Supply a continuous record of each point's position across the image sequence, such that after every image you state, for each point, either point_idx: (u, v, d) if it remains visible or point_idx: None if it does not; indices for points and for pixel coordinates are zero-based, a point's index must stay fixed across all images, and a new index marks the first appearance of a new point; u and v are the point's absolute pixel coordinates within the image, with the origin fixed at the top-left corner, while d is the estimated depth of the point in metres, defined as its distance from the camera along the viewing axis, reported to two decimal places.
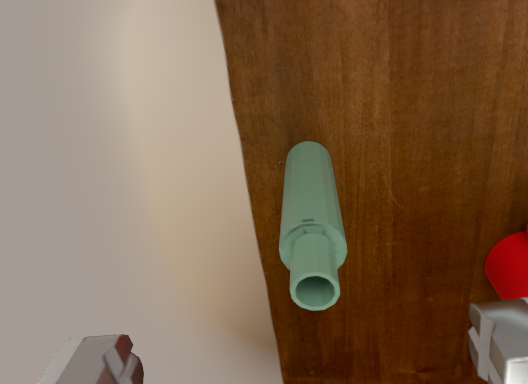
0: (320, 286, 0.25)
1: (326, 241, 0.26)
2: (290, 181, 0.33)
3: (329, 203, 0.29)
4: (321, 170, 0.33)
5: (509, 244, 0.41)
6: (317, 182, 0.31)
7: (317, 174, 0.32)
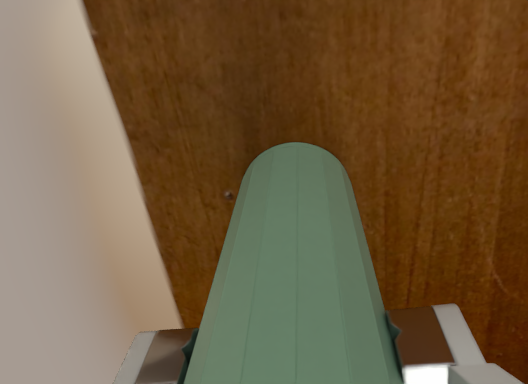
0: None
1: None
2: (222, 285, 0.09)
3: None
4: (332, 242, 0.10)
5: None
6: (319, 314, 0.07)
7: (318, 265, 0.09)
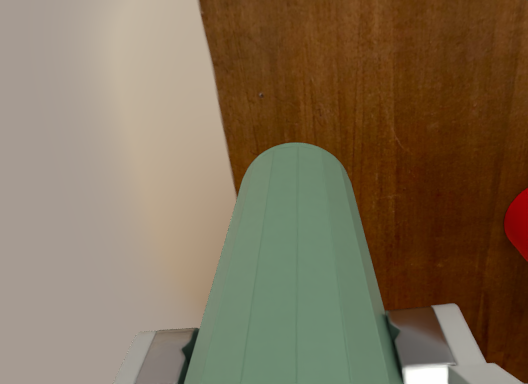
0: None
1: None
2: (222, 286, 0.09)
3: None
4: (332, 243, 0.10)
5: None
6: (318, 314, 0.07)
7: (318, 265, 0.09)
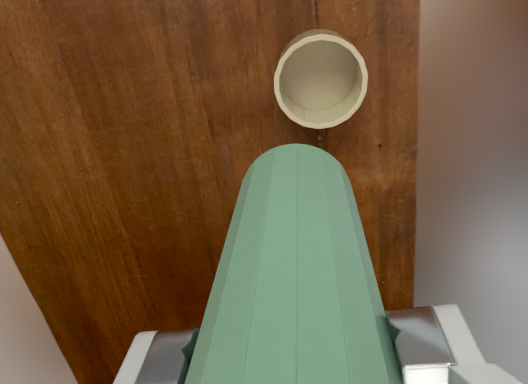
0: None
1: None
2: (222, 288, 0.09)
3: None
4: (332, 244, 0.10)
5: None
6: (319, 317, 0.07)
7: (318, 267, 0.09)
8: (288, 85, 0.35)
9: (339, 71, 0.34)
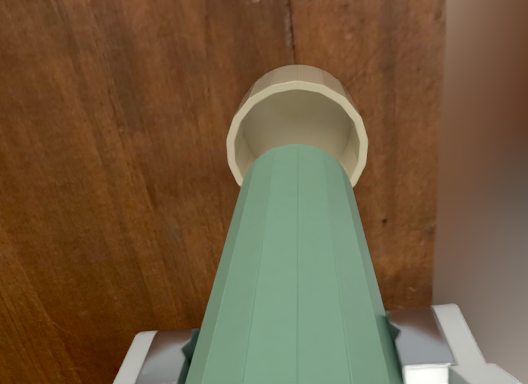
0: None
1: None
2: (223, 288, 0.09)
3: None
4: (332, 245, 0.10)
5: None
6: (319, 317, 0.07)
7: (319, 267, 0.09)
8: (255, 143, 0.24)
9: (326, 124, 0.24)
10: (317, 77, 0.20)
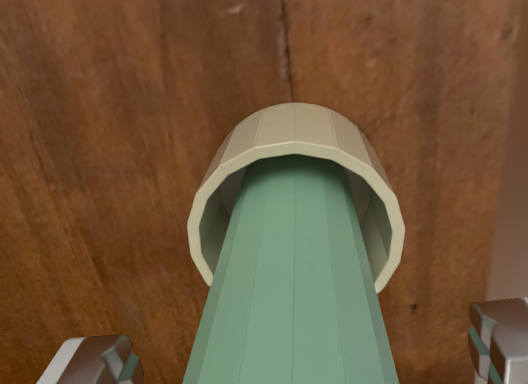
0: None
1: None
2: (222, 281, 0.10)
3: None
4: (329, 240, 0.10)
5: None
6: (315, 308, 0.08)
7: (315, 261, 0.09)
8: None
9: None
10: (326, 130, 0.13)
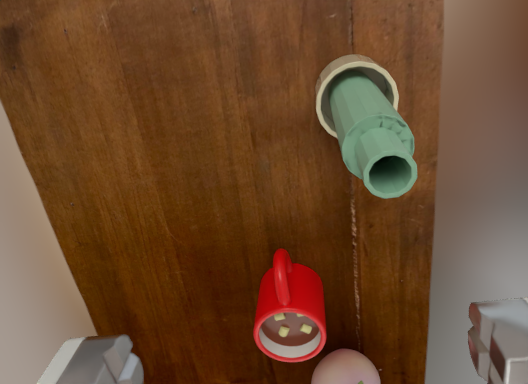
0: (389, 179, 0.24)
1: (395, 134, 0.24)
2: (342, 97, 0.32)
3: (391, 107, 0.27)
4: (374, 87, 0.32)
5: (269, 275, 0.48)
6: (374, 93, 0.30)
7: (371, 89, 0.31)
8: (325, 103, 0.39)
9: None
10: (370, 60, 0.35)
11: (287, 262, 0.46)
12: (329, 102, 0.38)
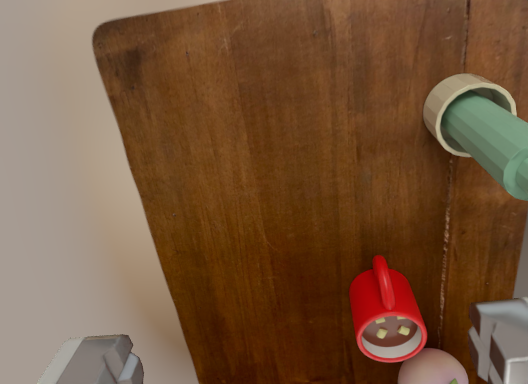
0: None
1: None
2: (475, 118, 0.34)
3: None
4: None
5: (362, 279, 0.51)
6: (512, 116, 0.32)
7: (504, 110, 0.33)
8: None
9: None
10: (488, 80, 0.37)
11: None
12: None
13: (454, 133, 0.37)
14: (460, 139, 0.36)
